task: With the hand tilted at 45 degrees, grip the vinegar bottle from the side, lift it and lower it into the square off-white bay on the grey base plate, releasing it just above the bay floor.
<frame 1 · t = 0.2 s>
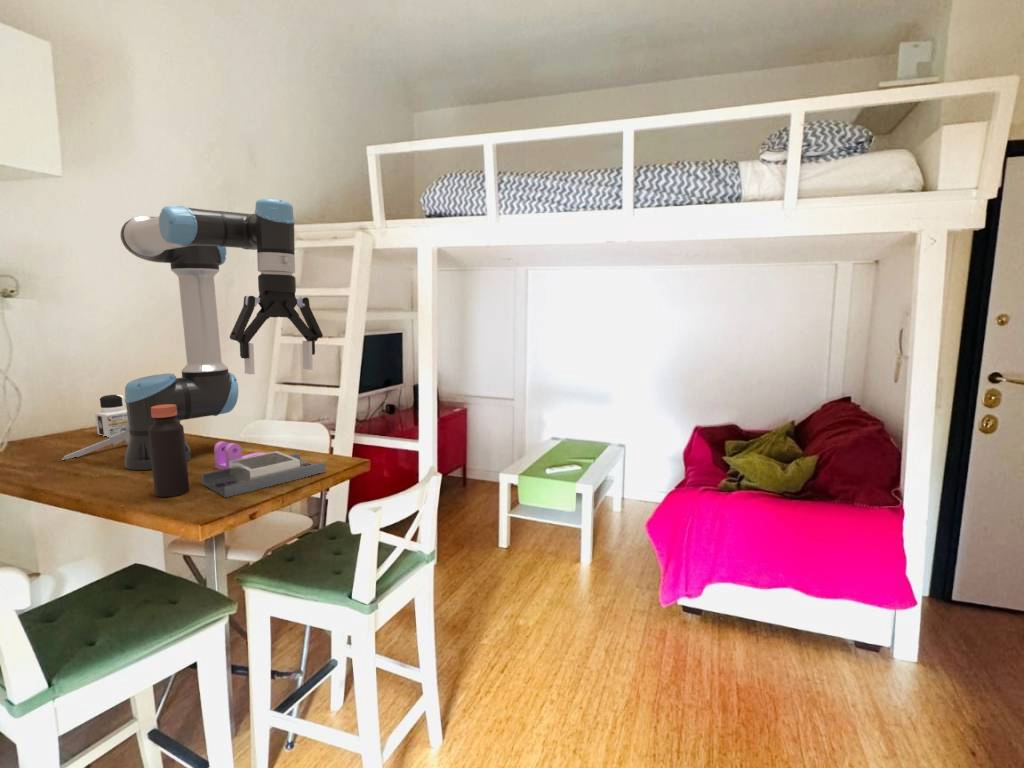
hand: (280, 371, 125), 27 cm above the table, tool pointing down, fingers open, 13 cm apart
grey base plate: (265, 478, 137), on the table
container: (116, 434, 185), on the table
caliper: (100, 453, 163), on the table
bracket: (245, 464, 150), on the table
vinegar: (172, 493, 128), on the table
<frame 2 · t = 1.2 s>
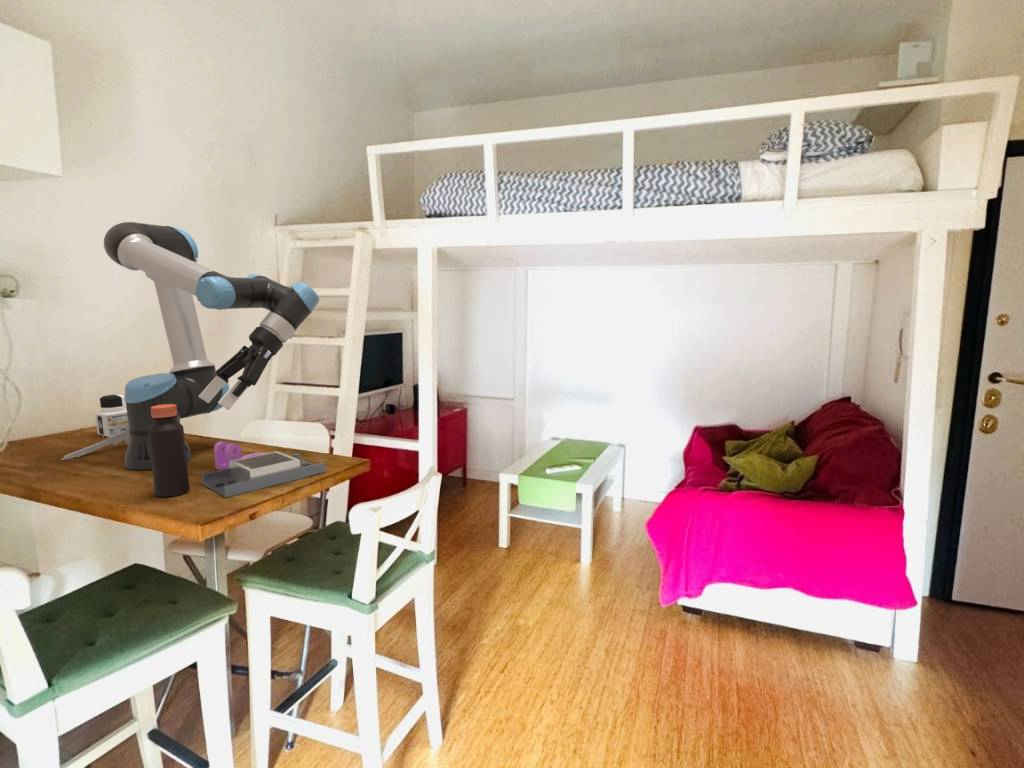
hand: (212, 403, 132), 19 cm above the table, tool tilted 45°, fingers open, 13 cm apart
nothing on the table moved.
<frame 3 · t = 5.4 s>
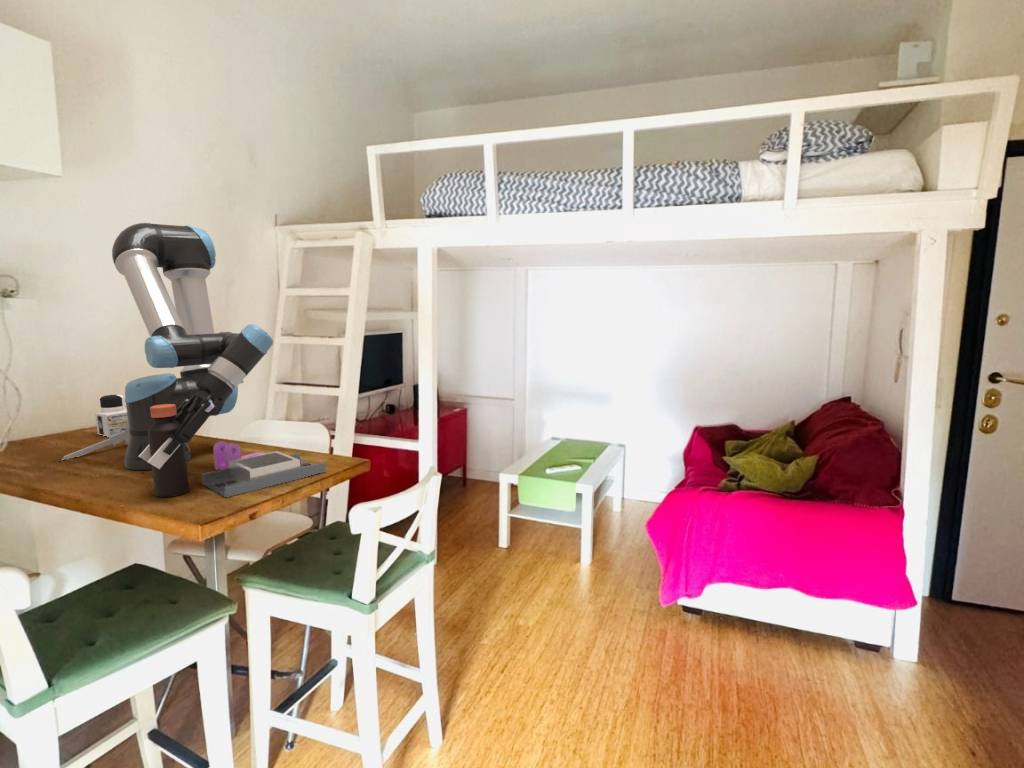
hand: (148, 462, 124), 8 cm above the table, tool tilted 45°, fingers closed on vinegar, 6 cm apart
vinegar: (172, 493, 128), on the table, touching gripper
everything else where it was.
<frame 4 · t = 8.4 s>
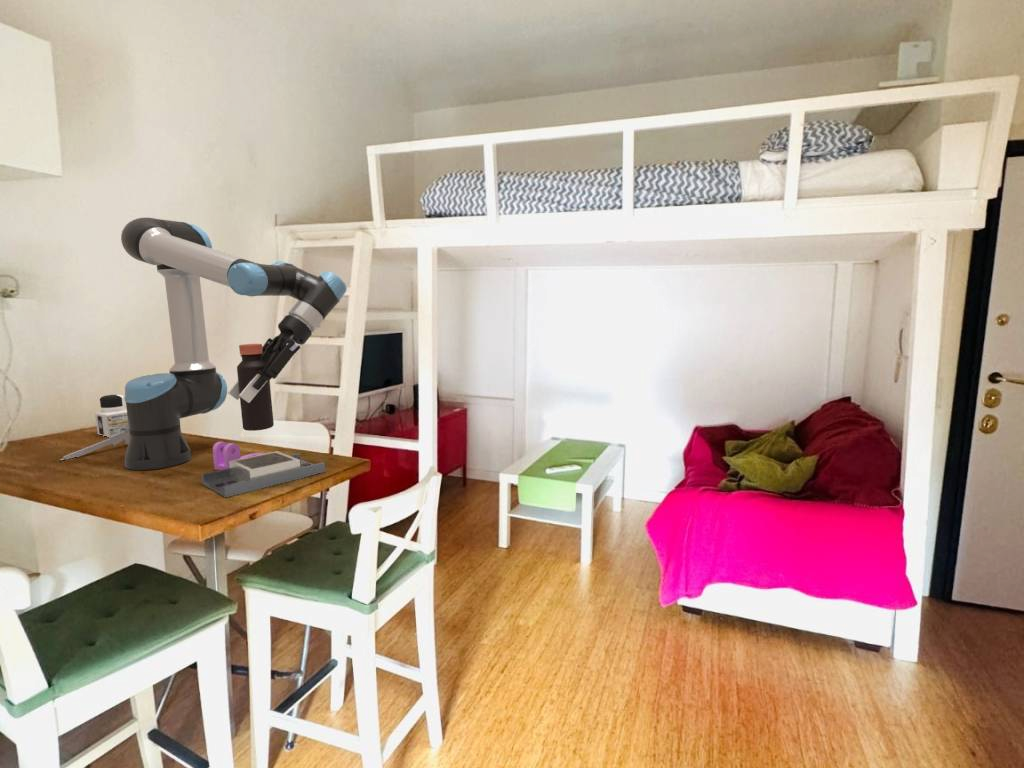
hand: (238, 397, 131), 21 cm above the table, tool tilted 45°, fingers closed on vinegar, 6 cm apart
vinegar: (258, 428, 135), point 13 cm above the table, touching gripper
everything else where it was.
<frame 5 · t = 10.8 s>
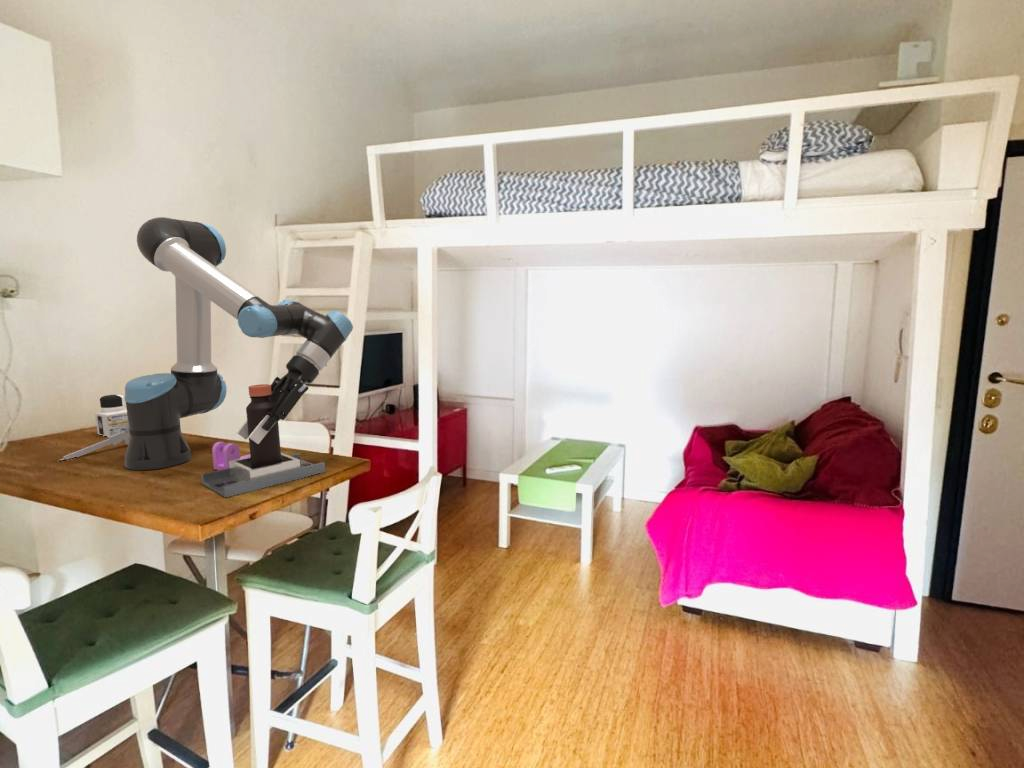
hand: (247, 438, 133), 11 cm above the table, tool tilted 45°, fingers closed on vinegar, 6 cm apart
vinegar: (266, 467, 137), point 3 cm above the table, touching gripper
everything else where it was.
when the fingers open (10 cm above the table, at t = 11.7 s): vinegar drops 1 cm, resting on grey base plate.
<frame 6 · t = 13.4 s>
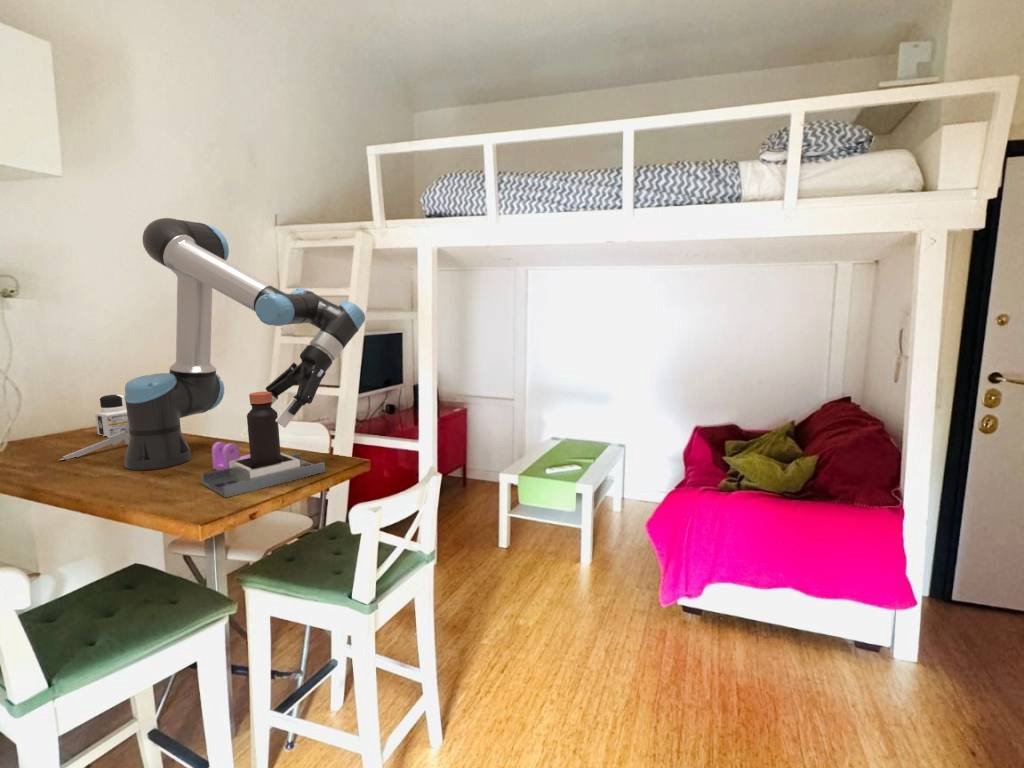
hand: (267, 420, 135), 14 cm above the table, tool tilted 45°, fingers open, 13 cm apart
vinegar: (267, 474, 137), point 1 cm above the table, touching grey base plate
everything else where it was.
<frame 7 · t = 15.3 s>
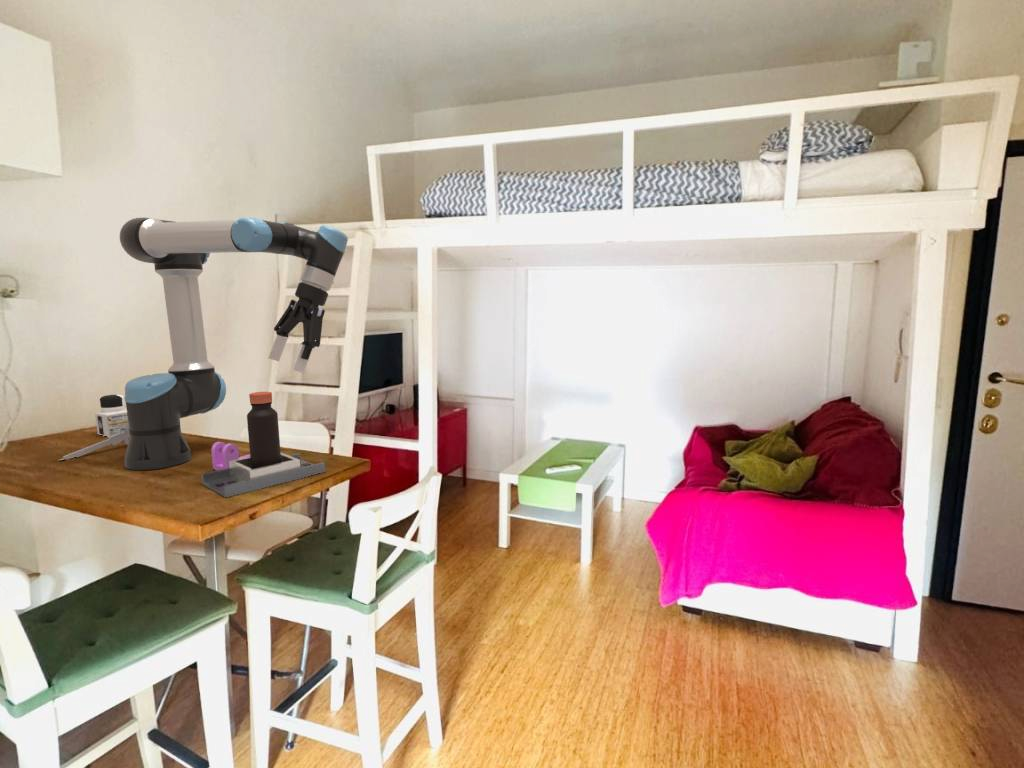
hand: (285, 365, 142), 27 cm above the table, tool tilted 25°, fingers open, 13 cm apart
nothing on the table moved.
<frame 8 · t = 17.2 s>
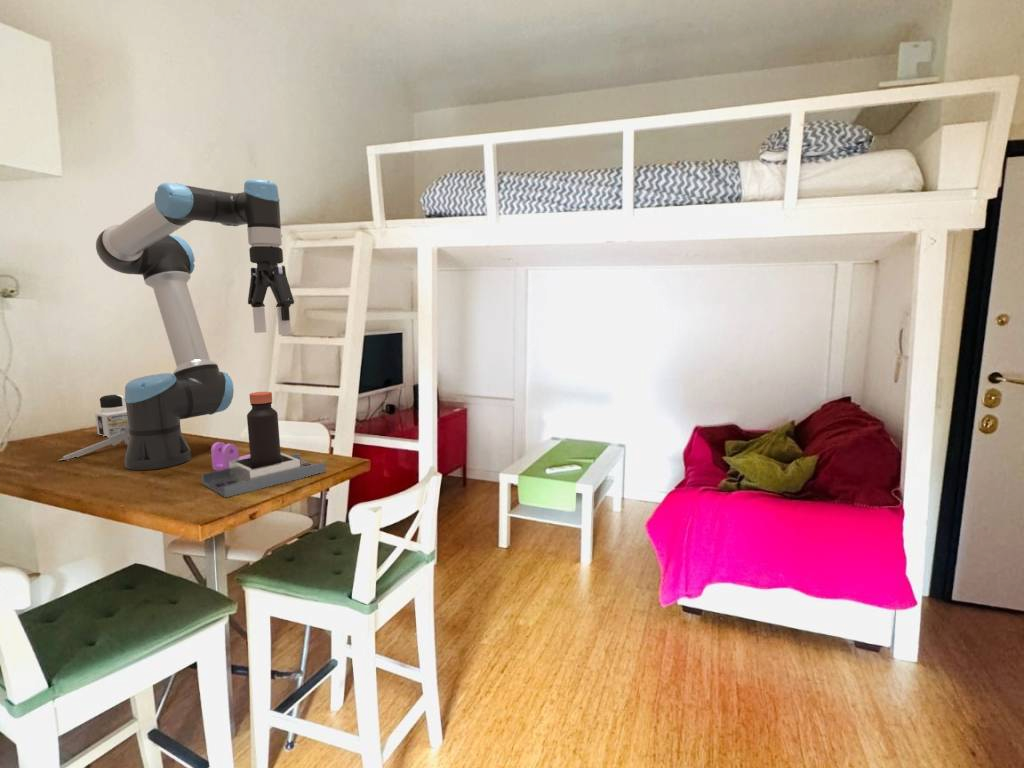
hand: (272, 333, 141), 35 cm above the table, tool pointing down, fingers open, 13 cm apart
nothing on the table moved.
at the end: vinegar 0.4 cm off-centre on the grey base plate, point 0.8 cm above the grey base plate's base; vinegar tilted 0°; the gripper is holding nothing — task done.
